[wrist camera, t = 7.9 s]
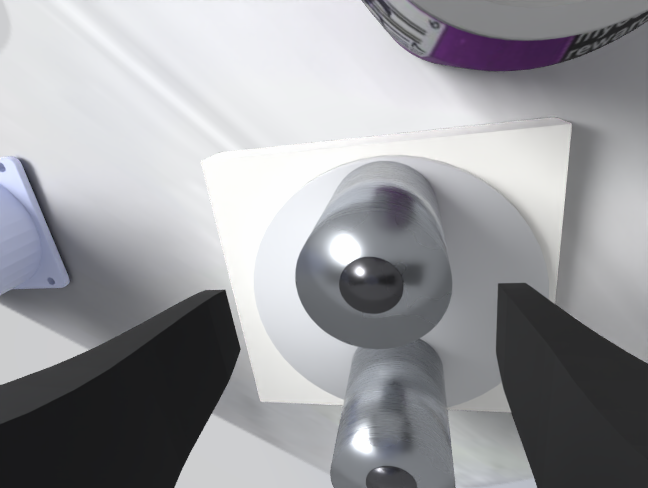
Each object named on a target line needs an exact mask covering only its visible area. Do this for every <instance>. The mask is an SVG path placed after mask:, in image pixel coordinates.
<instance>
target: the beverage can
mask: <svg viewBox="0 0 648 488" xmlns="http://www.w3.org/2000/svg"><path fill="white" fill-rule="evenodd" d="M362 2H363V3H364V4H365V6H366V7H367V8H368V9H369V11H370V12H371V13H372V14H373V15H374V17H375V18H376V19H377V20H378V21H379V22H380V24H381V25H382V26H383V27H384V28H385V30H386V31H387V32H388V33H389V34H390V35H391V37H392V38H393V39H394V40H395V41H396V42H397V43H398V44H399V45H400V46H402V47H403V48H404V49H405V50H407V51H408V52H410V53H411V54H413V55H415V56H417V57H419V58H421V59H423V60H426V61H429V62H432V63H436V64H441V65H448V66H454V67H460V68H467V69H474V70H484V71H516V70H528V69H534V68H539V67H544V66H549V65H553V64H557V63H561V62H564V61H567V60H570V59H573V58H576V57H580V56H582V55H584V54H587V53H589V52H592V51H594V50H596V49H599V48H601V47H603V46H605V45H607V44H609V43H611V42H613V41H615V40H617V39H619V38H620V37H622V36H624V35H626V34H627V33H629V32H631V31H633V30H634V29H636V28H637V27H639V26H640V25H642V24H644V23H645V22H647V21H648V0H362Z"/></svg>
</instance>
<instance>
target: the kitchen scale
mask: <svg viewBox="0 0 648 488" xmlns="http://www.w3.org/2000/svg"><path fill="white" fill-rule="evenodd" d="M571 130H572V124H571V123H569V122H566V121H564V120H561V119H559V118H556V117H549V118H540V119H530V120H521V121H511V122H502V123H492V124H483V125H473V126H464V127H454V128H445V129H435V130H426V131H416V132H407V133H398V134H388V135H379V136H369V137H360V138H350V139H341V140H331V141H322V142H312V143H303V144H293V145H284V146H274V147H265V148H255V149H246V150H236V151H227V152H219V153H217V154H215V155H213V156H210V157H208V158H206V159H204V160H202V161H201V165H202V170H203V174H204V178H205V182H206V186H207V190H208V194H209V198H210V202H211V206H212V210H213V214H214V218H215V222H216V226H217V230H218V234H219V238H220V242H221V246H222V250H223V254H224V258H225V262H226V266H227V270H228V274H229V278H230V282H231V286H232V290H233V294H234V298H235V302H236V306H237V310H238V314H239V318H240V322H241V326H242V330H243V334H244V338H245V342H246V346H247V350H248V354H249V358H250V362H251V367H252V371H253V375H254V379H255V383H256V387H257V391H258V395H259V399H260V402H278V403H301V404H324V405H343V404H344V399H345V394H346V388H347V383H348V378H349V373H350V368H351V363H352V359H353V355H354V353H355V351H356V350H357V348H358V347H357V346H353V345H350V344H347V343H344V342H342V341H340V340H338V339H336V338H334V337H332V336H331V335H329V334H328V333H326V332H325V331H323V330H322V329H321V328H320V327H319V326H318V325H317V324H316V323H315V322H314V321H313V320H312V319H311V318H310V316H309V315H308V314H307V312H306V311H305V309H304V307H303V305H302V304H301V301H300V299H299V296H298V293H297V288H296V281H295V271H296V264H297V260H298V257H299V254H300V252H301V250H302V248H303V246H304V244H305V242H306V241H307V239H308V237H309V236H310V234H311V232H312V230H313V229H314V227H315V225H316V223H317V222H318V220H319V218H320V216H321V215H322V213H323V211H324V210H325V208H326V206H327V204H328V203H329V201H330V199H331V197H332V196H333V194H334V192H335V190H336V189H337V187H338V185H339V184H340V183H341V181H342V180H343V179H344V178H345V177H346V176H347V175H348V174H349V173H350V172H351V171H353V170H354V169H356V168H358V167H360V166H362V165H364V164H367V163H371V162H376V161H394V162H398V163H402V164H405V165H407V166H410V167H411V168H413V169H415V170H416V171H418V172H419V173H421V174H422V175H423V176H424V177H425V178H426V179H427V181H428V182H429V183H430V184H431V186H432V188H433V190H434V191H435V194H436V196H437V200H438V204H439V210H440V215H441V220H442V226H443V231H444V236H445V242H446V247H447V252H448V257H449V263H450V268H451V273H452V295H451V299H450V303H449V305H448V308H447V310H446V312H445V314H444V316H443V317H442V319H441V320H440V321H439V323H438V324H437V325H436V326H435V327H434V328H433V329H432V330H431V331H430V332H429V333H427V334H426V335H424V336H423V337H421V338H420V339H421V340H423V341H425V342H426V343H428V344H429V345H430V346H431V347H432V348H433V349H434V350H435V351H436V352H437V354H438V355H439V357H440V359H441V361H442V365H443V371H444V380H445V390H446V400H447V409H448V410H463V411H486V412H509V413H511V410H510V407H509V404H508V401H507V398H506V395H505V392H504V389H503V385H502V380H501V376H500V371H499V366H498V361H497V356H496V329H497V299H498V283H527V284H528V285H530V286H531V287H532V288H534V289H535V290H537V291H538V292H539V293H541V294H542V295H543V296H545V297H546V298H547V299H549V300H550V301H551V302H553V303H554V304H555V298H556V288H557V277H558V267H559V256H560V246H561V235H562V225H563V214H564V203H565V193H566V182H567V172H568V161H569V151H570V140H571Z"/></svg>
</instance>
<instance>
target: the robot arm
mask: <svg viewBox="0 0 648 488" xmlns="http://www.w3.org/2000/svg"><path fill="white" fill-rule="evenodd" d="M4 166H5V167H4ZM5 168H6V169H5ZM53 279H54V280H53ZM69 282H70V280H69V277H68V274H67V272H66V269H65V267H64V265H63V262H62V260H61V257H60V255H59V253H58V250H57V248H56V245H55V243H54V241H53V238H52V236H51V233H50V231H49V229H48V226H47V224H46V221H45V219H44V217H43V214H42V212H41V209H40V207H39V205H38V202H37V200H36V197H35V195H34V193H33V190H32V188H31V185H30V183H29V181H28V178H27V176H26V173H25V171H24V169H23V166H22V164H21V162H20V161H19V160H18V159H17V158H15V157H13V156H8V157H0V295H2V294H4V293H5V292H7V291H9V290H11V289H37V288H63V287H65V286H67V285H68V284H69ZM240 350H241V349H240V345H239V342H238V338H237V334H236V330H235V326H234V322H233V318H232V314H231V310H230V306H229V303H228V299H227V295H226V291H225V290H205V291H203V292H200V293H198V294H196V295H193V296H191V297H189V298H187V299H186V300H184V301H182V302H180V303H178V304H176V305H174V306H173V307H171V308H169V309H167V310H165V311H163V312H162V313H160V314H158V315H156V316H154V317H153V318H151V319H149V320H147V321H145V322H144V323H142V324H140V325H138V326H136V327H134V328H132V329H130V330H128V331H127V332H125V333H123V334H121V335H119V336H117V337H115V338H113V339H111V340H109V341H107V342H105V343H103V344H101V345H99V346H97V347H95V348H93V349H91V350H89V351H86V352H85V353H82V354H80V355H77V356H75V357H73V358H71V359H68V360H66V361H64V362H61V363H59V364H57V365H54V366H52V367H49V368H46V369H44V370H41V371H38V372H35V373H33V374H30V375H27V376H25V377H22V378H19V379H17V380H14V381H11V382H8V383H6V384H3V385H0V488H174V487H175V485H176V482H177V480H178V477H179V475H180V473H181V470H182V468H183V466H184V464H185V462H186V460H187V458H188V456H189V454H190V452H191V450H192V448H193V447H194V445H195V443H196V441H197V439H198V437H199V435H200V434H201V432H202V430H203V428H204V426H205V424H206V423H207V421H208V419H209V417H210V415H211V414H212V412H213V410H214V408H215V406H216V405H217V403H218V401H219V399H220V397H221V395H222V393H223V391H224V390H225V388H226V386H227V384H228V382H229V380H230V377H231V375H232V372H233V369H234V367H235V364H236V361H237V358H238V355H239V352H240ZM496 356H497V361H498V366H499V371H500V376H501V380H502V385H503V389H504V392H505V395H506V398H507V401H508V404H509V407H510V410H511V413H512V416H513V419H514V421H515V424H516V427H517V430H518V433H519V436H520V438H521V441H522V444H523V447H524V450H525V453H526V456H527V458H528V461H529V464H530V467H531V470H532V473H533V475H534V478H535V482H536V485H537V488H648V364H647V363H645V362H644V361H642V360H640V359H638V358H637V357H635V356H633V355H631V354H630V353H628V352H626V351H624V350H623V349H621V348H620V347H618V346H616V345H615V344H613V343H611V342H610V341H608V340H607V339H605V338H603V337H602V336H600V335H599V334H597V333H596V332H594V331H593V330H591V329H590V328H588V327H587V326H585V325H584V324H582V323H581V322H579V321H578V320H576V319H575V318H573V317H572V316H571V315H569V314H568V313H566V312H565V311H564V310H562V309H561V308H559V307H558V306H557V305H555V304H554V303H553V302H551V301H550V300H549V299H547V298H546V297H545V296H543V295H542V294H541V293H539V292H538V291H537V290H535V289H534V288H532V287H531V286H530V285H528V284H527V283H498V299H497V329H496Z"/></svg>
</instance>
